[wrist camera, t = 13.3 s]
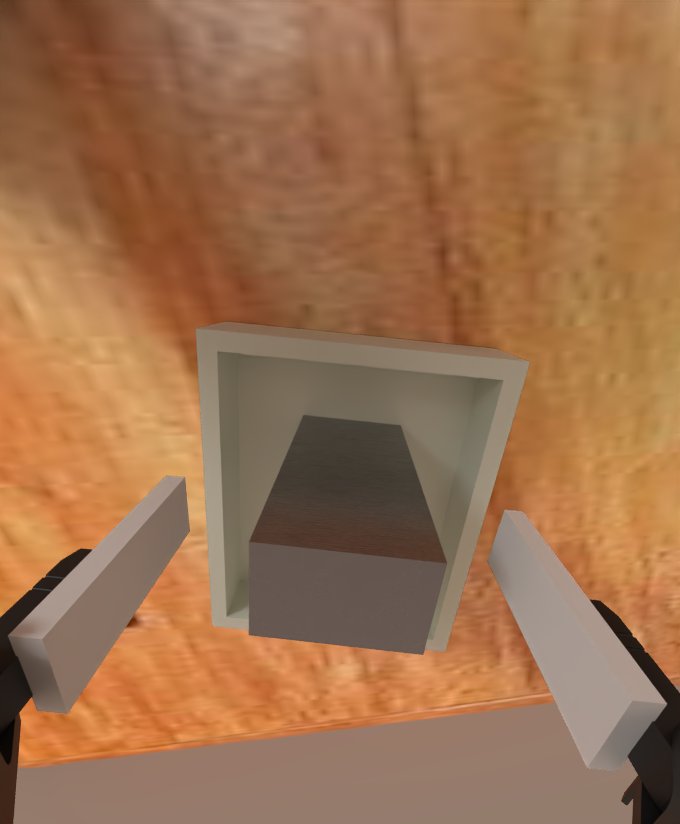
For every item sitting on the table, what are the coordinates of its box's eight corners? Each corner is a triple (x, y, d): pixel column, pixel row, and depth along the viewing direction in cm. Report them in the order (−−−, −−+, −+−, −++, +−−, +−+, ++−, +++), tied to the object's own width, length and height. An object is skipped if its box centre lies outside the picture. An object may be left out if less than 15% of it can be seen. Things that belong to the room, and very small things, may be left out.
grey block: (303, 414, 20) (249, 541, 10) (400, 425, 20) (447, 563, 10) (295, 544, 24) (248, 739, 13) (378, 553, 24) (396, 756, 13)
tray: (226, 321, 20) (195, 328, 16) (496, 348, 19) (530, 361, 16) (232, 578, 26) (212, 626, 23) (432, 600, 26) (445, 651, 22)
